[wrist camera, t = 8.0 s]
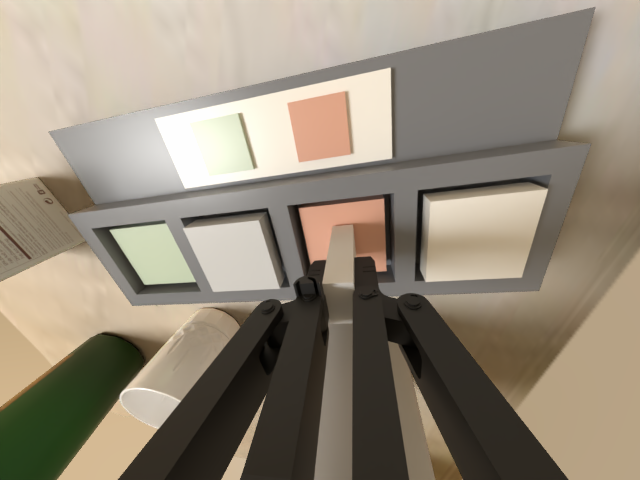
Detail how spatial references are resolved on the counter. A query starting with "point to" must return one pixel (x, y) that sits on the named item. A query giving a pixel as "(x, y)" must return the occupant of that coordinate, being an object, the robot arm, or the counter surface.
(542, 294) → the counter surface
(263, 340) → the robot arm
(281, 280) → the key grey
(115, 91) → the counter surface
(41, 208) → the supplement box
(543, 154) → the key pad
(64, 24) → the counter surface
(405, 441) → the cylinder vase
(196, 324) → the white cup
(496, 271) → the key white
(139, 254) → the key sage
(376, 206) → the key terracotta
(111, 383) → the bottle
